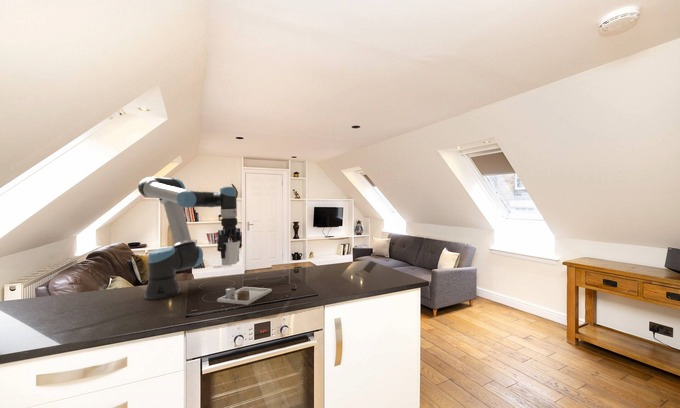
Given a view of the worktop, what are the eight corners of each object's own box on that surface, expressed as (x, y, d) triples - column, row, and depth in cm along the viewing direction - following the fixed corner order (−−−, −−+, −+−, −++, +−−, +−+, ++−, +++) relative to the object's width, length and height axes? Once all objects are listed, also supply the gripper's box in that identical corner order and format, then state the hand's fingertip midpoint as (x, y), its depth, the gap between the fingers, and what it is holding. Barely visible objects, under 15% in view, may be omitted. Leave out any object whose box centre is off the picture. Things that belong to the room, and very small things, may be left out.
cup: (236, 265, 136) (235, 242, 136) (216, 266, 136) (215, 243, 137) (244, 261, 146) (243, 240, 146) (225, 262, 146) (224, 241, 147)
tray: (217, 304, 128) (217, 298, 128) (244, 291, 147) (244, 286, 147) (247, 307, 123) (247, 301, 123) (271, 293, 142) (271, 288, 142)
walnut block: (237, 302, 127) (237, 293, 127) (240, 299, 131) (240, 290, 131) (246, 302, 127) (246, 293, 127) (249, 299, 131) (249, 290, 131)
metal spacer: (223, 300, 129) (223, 289, 129) (229, 297, 133) (229, 287, 133) (231, 301, 128) (231, 290, 128) (236, 298, 132) (236, 287, 132)
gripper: (220, 218, 131) (222, 267, 130) (248, 216, 151) (249, 259, 150) (207, 218, 133) (209, 267, 132) (236, 217, 153) (237, 259, 152)
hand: (230, 263), depth 141 cm, fingers closed on cup, 8 cm apart
